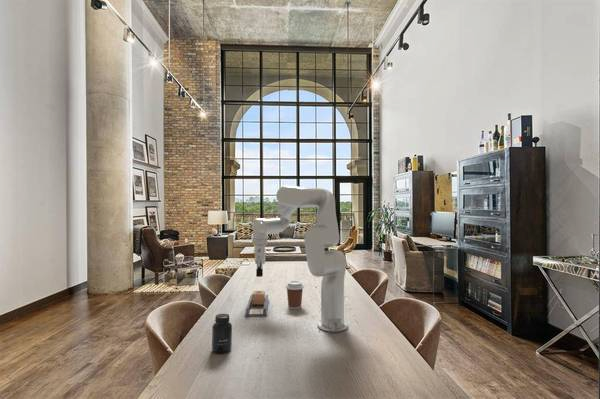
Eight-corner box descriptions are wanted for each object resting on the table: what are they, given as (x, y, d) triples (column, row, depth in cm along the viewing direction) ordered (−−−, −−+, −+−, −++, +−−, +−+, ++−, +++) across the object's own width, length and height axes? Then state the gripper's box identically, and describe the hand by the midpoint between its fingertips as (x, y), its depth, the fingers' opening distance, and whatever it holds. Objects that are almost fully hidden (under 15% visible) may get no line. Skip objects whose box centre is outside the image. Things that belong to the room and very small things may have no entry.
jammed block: (264, 304, 163) (264, 294, 163) (252, 304, 162) (252, 294, 162) (265, 300, 169) (265, 290, 169) (253, 300, 168) (253, 290, 168)
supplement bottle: (221, 356, 111) (221, 320, 112) (207, 351, 115) (207, 316, 115) (235, 348, 117) (236, 314, 117) (222, 344, 121) (222, 311, 121)
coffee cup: (288, 310, 158) (288, 285, 158) (283, 304, 166) (283, 281, 166) (306, 308, 161) (306, 283, 161) (300, 303, 169) (300, 279, 169)
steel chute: (266, 316, 150) (266, 308, 150) (244, 316, 149) (244, 308, 149) (269, 301, 172) (269, 294, 172) (249, 301, 171) (249, 294, 171)
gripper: (266, 243, 167) (265, 280, 168) (267, 239, 182) (267, 273, 183) (251, 243, 167) (250, 279, 167) (254, 239, 182) (253, 272, 182)
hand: (259, 276), depth 175 cm, fingers closed
